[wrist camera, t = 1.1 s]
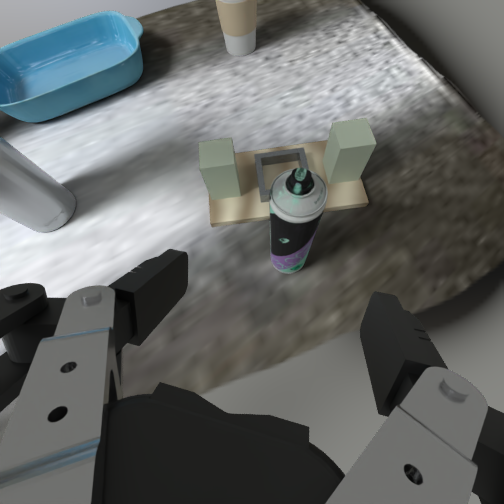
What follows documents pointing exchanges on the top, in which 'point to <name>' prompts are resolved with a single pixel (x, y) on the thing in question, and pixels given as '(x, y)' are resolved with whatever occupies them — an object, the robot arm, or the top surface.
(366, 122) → the sage pillars
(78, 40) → the casserole dish
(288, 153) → the metal collar
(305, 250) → the spray can
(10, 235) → the top surface
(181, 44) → the top surface
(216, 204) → the wooden board
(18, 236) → the top surface
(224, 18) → the coffee cup
